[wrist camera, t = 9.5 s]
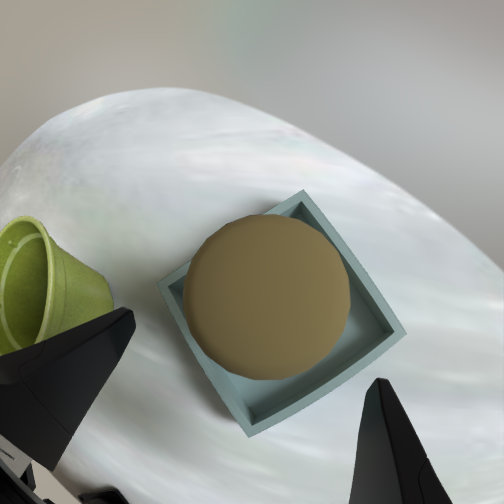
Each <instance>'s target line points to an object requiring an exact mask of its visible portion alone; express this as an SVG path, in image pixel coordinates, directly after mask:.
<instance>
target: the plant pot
mask: <svg viewBox="0 0 504 504" xmlns="http://www.w3.org/2000/svg"><path fill="white" fill-rule="evenodd" d="M111 311H113V299H112V296H111V293H110V290H109V286H108V283H107V281H106V279H105V278H104V277H103V276H102V275H101V274H99V273H98V272H96V271H95V270H93V269H91V268H90V267H88V266H87V265H85V264H84V263H82V262H81V261H79V260H78V259H76V258H75V257H73V256H72V255H70V254H69V253H67V252H66V251H64V250H63V249H61V248H60V247H59V246H57V244H56V243H55V241H54V240H53V239H52V238H51V237H50V236H49V234H48V232H47V230H46V229H45V227H44V226H43V225H42V223H41V222H39V221H38V220H37V219H35V218H33V217H31V216H21V217H18V218H16V219H14V220H12V221H11V222H10V223H8V224H7V225H6V226H5V227H4V228H3V229H2V231H1V232H0V356H1V355H4V354H7V353H10V352H13V351H17V350H20V349H23V348H25V347H28V346H31V345H33V344H36V343H38V342H41V341H43V340H45V339H46V340H47V339H48V338H50V337H52V336H55V335H57V334H59V333H62V332H64V331H66V330H69V329H71V328H73V327H76V326H78V325H80V324H83V323H85V322H87V321H90V320H92V319H94V318H97V317H99V316H101V315H104V314H106V313H108V312H111Z"/></svg>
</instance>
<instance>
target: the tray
mask: <svg viewBox="0 0 504 504" xmlns="http://www.w3.org/2000/svg"><path fill="white" fill-rule="evenodd" d="M264 214H278V215H282V216H286V217H290V218H294V219H298V220H301V221H302V222H304V223H306V224H307V225H309V226H311V227H312V228H314V229H316V230H317V231H319V232H321V233H322V234H323V235H324V237H325V238H326V239H327V240H328V241H329V242H330V243H331V245H332V246H333V247H334V248H335V249H336V250H337V251H338V253H339V255H340V258H341V260H342V262H343V265H344V267H345V270H346V272H347V274H348V278H349V290H350V304H351V305H350V309H349V313H348V317H347V321H346V325H345V329H344V332H343V333H342V335H341V336H340V338H339V339H338V341H337V342H336V344H335V346H334V347H333V349H332V350H331V352H330V353H329V354H328V355H327V356H326V357H324V358H323V359H322V360H321V361H319V362H318V363H317V364H316V365H314V366H313V367H312V368H310V369H309V370H308V371H305V372H303V373H300V374H297V375H294V376H291V377H289V378H286V379H283V380H252V379H248V378H245V377H242V376H239V375H236V374H233V373H230V372H228V371H226V370H225V369H224V368H222V367H221V366H220V365H218V364H217V363H215V362H214V361H213V360H211V359H210V358H209V357H208V356H206V355H205V354H204V352H203V351H202V350H201V348H200V347H199V345H198V344H197V342H196V341H195V339H194V338H193V336H192V335H191V334H190V331H189V327H188V324H187V321H186V317H185V314H184V310H183V287H184V280H185V278H186V275H187V272H188V269H189V266H190V263H191V261H189V262H188V263H186V264H185V265H183V266H182V267H180V268H179V269H177V270H176V271H174V272H172V273H171V274H169V275H168V276H166V277H165V278H163V279H162V280H160V281H159V282H157V283H156V284H157V286H158V288H159V290H160V292H161V294H162V296H163V298H164V300H165V302H166V304H167V306H168V308H169V310H170V312H171V314H172V315H173V317H174V319H175V321H176V323H177V325H178V327H179V328H180V330H181V332H182V334H183V336H184V337H185V339H186V341H187V343H188V345H189V346H190V348H191V350H192V352H193V353H194V355H195V357H196V358H197V360H198V362H199V363H200V365H201V367H202V368H203V370H204V372H205V373H206V375H207V377H208V378H209V380H210V381H211V383H212V385H213V386H214V388H215V389H216V391H217V392H218V394H219V396H220V397H221V399H222V400H223V402H224V403H225V405H226V406H227V408H228V409H229V411H230V412H231V414H232V415H233V416H234V418H235V419H236V421H237V422H238V424H239V425H240V427H241V428H242V429H243V431H244V432H245V434H246V435H247V436H248V438H249V437H252V436H254V435H256V434H258V433H260V432H262V431H264V430H266V429H268V428H270V427H271V426H273V425H275V424H277V423H279V422H281V421H283V420H285V419H286V418H288V417H290V416H292V415H293V414H295V413H297V412H299V411H300V410H302V409H304V408H305V407H307V406H309V405H310V404H312V403H314V402H315V401H317V400H318V399H320V398H322V397H323V396H325V395H326V394H328V393H329V392H331V391H332V390H334V389H335V388H337V387H338V386H340V385H341V384H343V383H344V382H346V381H347V380H349V379H350V378H351V377H353V376H354V375H356V374H357V373H358V372H360V371H361V370H362V369H364V368H365V367H367V366H368V365H369V364H370V363H372V362H373V361H374V360H376V359H377V358H378V357H380V356H381V355H382V354H383V353H385V352H386V351H387V350H388V349H389V348H391V347H392V346H393V345H394V344H396V343H397V342H398V341H399V340H400V339H401V338H403V337H404V336H405V335H406V334H407V333H406V331H405V330H404V328H403V326H402V325H401V323H400V322H399V320H398V319H397V317H396V315H395V314H394V312H393V311H392V309H391V308H390V306H389V305H388V303H387V302H386V300H385V298H384V297H383V295H382V294H381V292H380V291H379V290H378V288H377V287H376V285H375V284H374V282H373V281H372V279H371V278H370V276H369V275H368V274H367V272H366V271H365V269H364V268H363V266H362V265H361V264H360V262H359V261H358V259H357V258H356V257H355V255H354V254H353V253H352V251H351V250H350V248H349V247H348V246H347V244H346V243H345V242H344V240H343V239H342V238H341V236H340V235H339V234H338V232H337V231H336V230H335V228H334V227H333V226H332V224H331V223H330V222H329V221H328V219H327V218H326V217H325V215H324V214H323V213H322V212H321V210H320V209H319V208H318V207H317V205H316V204H315V203H314V202H313V200H312V199H311V198H310V197H309V195H308V194H307V193H306V192H305V191H304V189H303V190H302V191H300V192H298V193H297V194H295V195H293V196H292V197H290V198H288V199H287V200H285V201H284V202H282V203H280V204H279V205H277V206H275V207H274V208H272V209H271V210H269V211H267V212H266V213H264ZM264 214H263V215H264Z"/></svg>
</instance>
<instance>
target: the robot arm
mask: <svg viewBox="0 0 504 504" xmlns="http://www.w3.org/2000/svg"><path fill="white" fill-rule="evenodd" d="M135 329H136V323H135V318H134V314H133V311H132V310H131V309H129V308H126V307H120V308H118V309H115V310H113V311H111V312H108V313H106V314H104V315H101V316H99V317H97V318H94V319H92V320H90V321H87V322H85V323H83V324H80V325H78V326H76V327H73V328H71V329H69V330H66V331H64V332H62V333H59V334H57V335H55V336H52V337H50V338H48V339H47V340H46V339H45V340H43V341H41V342H38V343H36V344H33V345H31V346H28V347H25V348H23V349H20V350H17V351H13V352H10V353H7V354H4V355H1V356H0V504H54V503H53V502H52V501H51V500H49V499H44V500H41V499H40V498H39V497H38V496H37V495H36V494H35V493H33V491H34V489H35V488H36V485H35V480H34V475H33V470H32V464H31V461H32V459H33V460H35V461H36V462H38V463H39V464H41V465H42V466H44V467H45V468H47V469H48V470H50V471H52V472H53V470H54V469H55V467H56V465H57V463H58V461H59V460H60V458H61V456H62V454H63V453H64V451H65V449H66V447H67V445H68V444H69V442H70V440H71V439H72V436H73V435H74V433H75V431H76V430H77V428H78V426H79V425H80V423H81V421H82V420H83V418H84V416H85V415H86V413H87V411H88V410H89V408H90V406H91V405H92V403H93V402H94V400H95V398H96V397H97V395H98V394H99V392H100V390H101V389H102V387H103V386H104V384H105V382H106V381H107V379H108V378H109V376H110V375H111V373H112V371H113V370H114V368H115V367H116V365H117V364H118V362H119V360H120V359H121V357H122V355H123V353H124V351H125V349H126V347H127V345H128V343H129V341H130V339H131V337H132V335H133V333H134V331H135ZM78 498H79V499H80V501H81V502H82V503H83V504H129V503H128V502H127V501H126V499H125V498H124V497H123V495H122V494H121V493H120V492H119V491H118V490H116V489H110V490H104V491H98V492H91V493H83V494H80V495H78ZM349 504H453V503H452V501H451V500H450V498H449V496H448V495H447V493H446V491H445V489H444V488H443V486H442V484H441V482H440V481H439V479H438V477H437V475H436V473H435V471H434V469H433V467H432V465H431V463H430V461H429V459H428V458H427V454H426V452H425V450H424V448H423V446H422V444H421V442H420V440H419V438H418V436H417V434H416V432H415V430H414V428H413V426H412V424H411V422H410V420H409V418H408V416H407V414H406V412H405V410H404V408H403V406H402V404H401V402H400V401H399V399H398V397H397V395H396V393H395V391H394V389H393V387H392V386H391V384H390V382H389V380H388V379H384V378H376V379H375V381H374V382H373V383H372V385H371V386H370V388H369V389H368V390H367V392H366V395H365V401H364V407H363V412H362V418H361V423H360V428H359V433H358V442H357V451H356V460H355V468H354V475H353V482H352V488H351V494H350V500H349Z"/></svg>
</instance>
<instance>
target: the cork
mask: <svg viewBox="0 0 504 504" xmlns="http://www.w3.org/2000/svg"><path fill="white" fill-rule="evenodd" d="M350 305H351V304H350V290H349V278H348V274H347V272H346V270H345V267H344V265H343V262H342V260H341V258H340V255H339V253H338V251H337V250H336V249H335V248H334V247H333V246H332V245H331V243H330V242H329V241H328V240H327V239H326V238H325V237H324V235H323V234H322V233H321V232H319V231H317V230H316V229H314V228H312V227H311V226H309V225H307V224H306V223H304V222H302V221H301V220H298V219H294V218H290V217H286V216H282V215H278V214H264V215H250V216H247V217H244V218H242V219H239V220H236V221H233V222H231V223H228V224H226V225H225V226H223V227H222V228H221V229H219V230H218V231H217V232H215V233H214V234H213V235H211V236H210V237H209V238H207V239H206V241H205V242H204V243H203V245H202V246H201V247H200V249H199V250H198V251H197V253H196V254H195V256H194V257H193V258H192V260H191V263H190V266H189V269H188V272H187V275H186V278H185V280H184V287H183V310H184V314H185V317H186V321H187V324H188V327H189V331H190V334H191V335H192V336H193V338H194V339H195V341H196V342H197V344H198V345H199V347H200V348H201V350H202V351H203V352H204V354H205V355H206V356H208V357H209V358H210V359H211V360H213V361H214V362H215V363H217V364H218V365H220V366H221V367H222V368H224V369H225V370H226V371H228V372H230V373H233V374H236V375H239V376H242V377H245V378H248V379H252V380H283V379H286V378H289V377H291V376H294V375H297V374H300V373H303V372H305V371H308V370H309V369H310V368H312V367H313V366H314V365H316V364H317V363H318V362H319V361H321V360H322V359H323V358H324V357H326V356H327V355H328V354H329V353H330V352H331V350H332V349H333V347H334V346H335V344H336V342H337V341H338V339H339V338H340V336H341V335H342V333H343V332H344V329H345V325H346V321H347V317H348V313H349V309H350Z"/></svg>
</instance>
